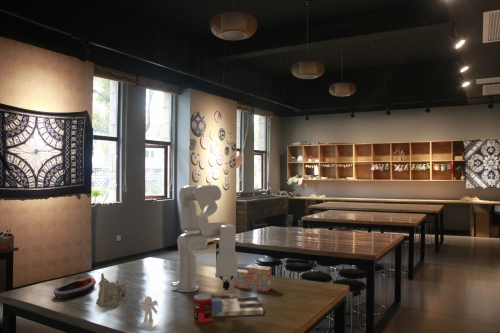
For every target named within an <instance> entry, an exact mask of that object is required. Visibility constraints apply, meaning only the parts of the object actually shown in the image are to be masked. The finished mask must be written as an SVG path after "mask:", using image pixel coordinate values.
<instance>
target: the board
mask: <svg viewBox="0 0 500 333" xmlns="http://www.w3.org/2000/svg"><path fill="white" fill-rule="evenodd" d="M221 300H222V312H213V313H212V318H213V317H232V316H234V317H235V316H249V315H250V316H252V315H255V316H256V315H264V309H263V305H262V302H261V300H260V297H259V296H242V297H241V296H240V297H236V298H234V299H221Z"/></svg>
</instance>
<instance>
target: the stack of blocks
mask: <svg viewBox="0 0 500 333" xmlns="http://www.w3.org/2000/svg"><path fill="white" fill-rule="evenodd" d="M237 275H238V277H236V278H233V288H239V289H249V290H254V291H262V292H268V290H269V291H270V290H271V289H272V267H268V266H263V265H261V266H260V265H254V264H253V265H252V264H251V265H250V266H248V267H247V269H242V268H241V269H240V268H238V272H237Z"/></svg>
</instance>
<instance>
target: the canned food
mask: <svg viewBox="0 0 500 333" xmlns="http://www.w3.org/2000/svg"><path fill="white" fill-rule="evenodd" d="M212 318H213V317H212V296H211V294H209V293H198V294H195V295H194V296H193V321H194V323H196V324H200V325H205V324H209V323H211V322H212V320H213V319H212Z"/></svg>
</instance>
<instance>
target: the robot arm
mask: <svg viewBox="0 0 500 333" xmlns="http://www.w3.org/2000/svg"><path fill="white" fill-rule="evenodd" d="M178 197H179V203H180V229H181V230H182V231H184V232H186V233H182V234H180V235H179V236H178V238H176V239H177V240H176V241H177V250H178V281H176V282H170V287H176V288H175V290H176V292H180V293H191V292H192V293H193V292H195V291H199V288H200V287H199V286H198V285H197V257H196V254H194V252H193V251H195V250H202V249H205V248H206V247H207V246H208V243H209V239H219V240H218V241H219V242H218V243H219V244H218V248H216V249H215V252H217V256H216V260H215V274H214V277H215V278H217V279H220V280H221V281H222V288H223V289H224V291H229V289H230V282H231V281H232V280H234V278H236V277H238V275H237V272H238V269H239V268H238V267H239V266H238V256H237V253H236V226H235V225H233V224H231V223H228V222H226V221H221V222H219V221H218V222H209V218H208V217H211V216H213V215H214V214H215V213H216V212H217V210H218V204H217V202H216V201H219V200H220V199H221V198H222V190H221V189H220V187H219V186H218V185H215V184H214V185H213V184H212V185H211V184H206V185H203V184H202V185H201V184H200V185H196V184H195V185H184V186H182V187H181V188H180V189H179V193H178ZM195 201H196V202H197V204H198V207H199V208H200V211H201V212H200V213H197V205H196V203H195ZM226 277H227V279H226Z"/></svg>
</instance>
